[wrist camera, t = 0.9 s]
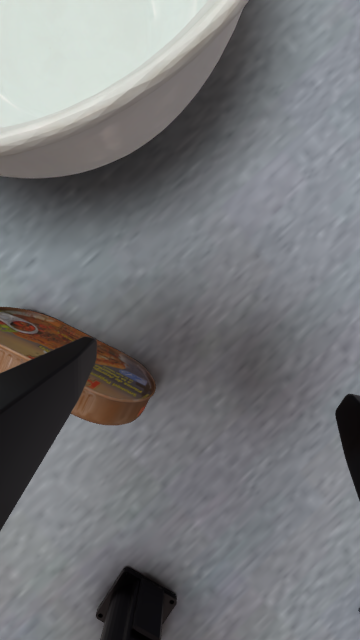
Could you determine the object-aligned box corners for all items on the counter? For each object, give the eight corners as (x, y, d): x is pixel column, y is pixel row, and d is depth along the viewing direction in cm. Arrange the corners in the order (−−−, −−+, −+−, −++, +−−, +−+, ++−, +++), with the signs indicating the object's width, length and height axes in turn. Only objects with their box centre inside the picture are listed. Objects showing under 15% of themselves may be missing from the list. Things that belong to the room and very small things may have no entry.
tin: (162, 372, 26) (149, 409, 17) (147, 399, 26) (128, 449, 17) (25, 302, 25) (-56, 304, 17) (12, 330, 26) (-74, 347, 17)
